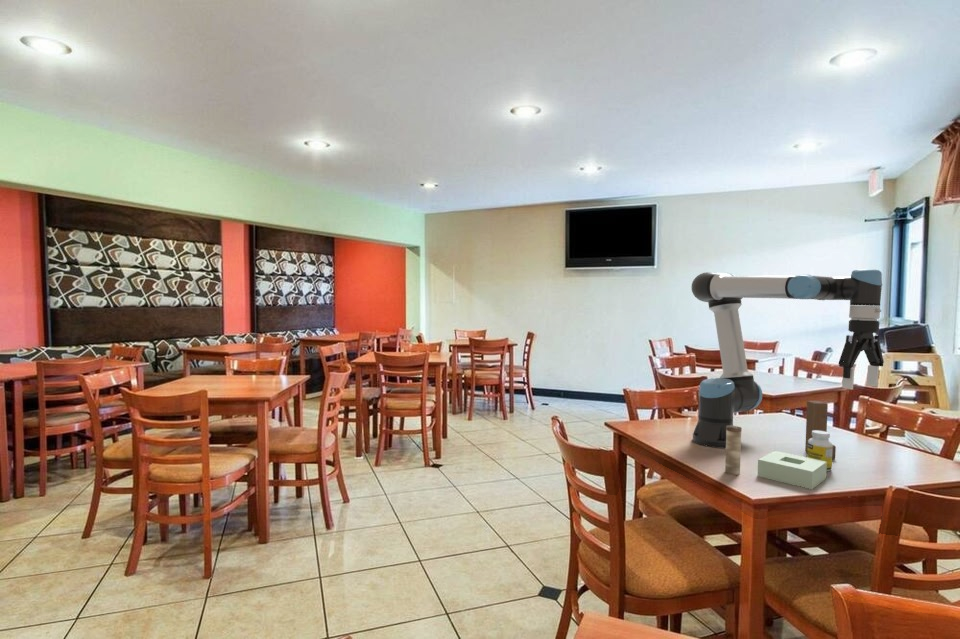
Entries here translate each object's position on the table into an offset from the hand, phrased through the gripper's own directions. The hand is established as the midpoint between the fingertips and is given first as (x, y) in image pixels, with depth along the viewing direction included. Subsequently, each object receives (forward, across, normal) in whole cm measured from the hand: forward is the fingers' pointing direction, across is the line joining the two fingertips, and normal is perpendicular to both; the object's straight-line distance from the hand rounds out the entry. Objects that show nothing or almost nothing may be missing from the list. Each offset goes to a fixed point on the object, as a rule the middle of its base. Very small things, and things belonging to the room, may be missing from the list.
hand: (860, 387), depth 155 cm
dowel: (+26, -39, +13) cm, 49 cm away
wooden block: (+26, +5, +14) cm, 30 cm away
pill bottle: (+26, -10, +5) cm, 29 cm away
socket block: (+26, -26, +4) cm, 37 cm away
